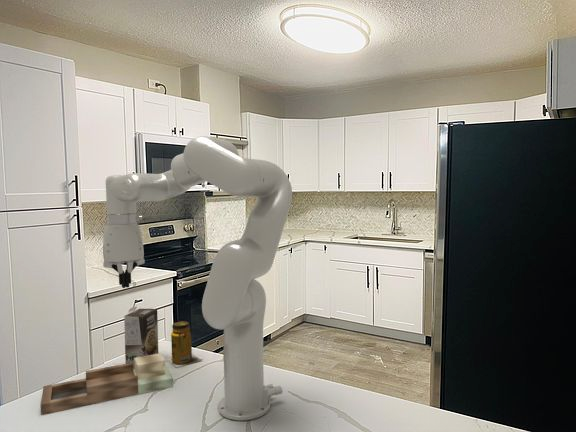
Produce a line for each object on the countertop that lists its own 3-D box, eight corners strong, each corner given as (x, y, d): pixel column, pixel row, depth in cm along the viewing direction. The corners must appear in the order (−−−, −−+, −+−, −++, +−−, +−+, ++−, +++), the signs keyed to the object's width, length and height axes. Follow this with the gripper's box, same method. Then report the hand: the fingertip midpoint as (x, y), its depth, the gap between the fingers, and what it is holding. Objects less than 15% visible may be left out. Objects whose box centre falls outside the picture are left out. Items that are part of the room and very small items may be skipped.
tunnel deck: (165, 371, 125) (164, 356, 125) (173, 386, 116) (172, 370, 115) (43, 395, 111) (43, 378, 111) (41, 415, 102) (40, 396, 101)
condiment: (167, 360, 134) (166, 322, 133) (192, 354, 139) (191, 317, 138) (176, 368, 128) (175, 328, 127) (202, 361, 133) (201, 323, 132)
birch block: (160, 366, 123) (160, 353, 123) (164, 374, 118) (164, 360, 117) (134, 371, 120) (134, 357, 119) (138, 380, 114) (137, 365, 114)
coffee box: (144, 370, 127) (142, 316, 126) (124, 368, 128) (122, 315, 127) (159, 358, 135) (158, 308, 134) (141, 357, 137) (139, 307, 136)
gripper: (147, 218, 124) (150, 281, 125) (91, 221, 117) (94, 287, 118) (153, 219, 117) (155, 285, 118) (93, 222, 110) (97, 293, 111)
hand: (125, 286), depth 118 cm, fingers closed
